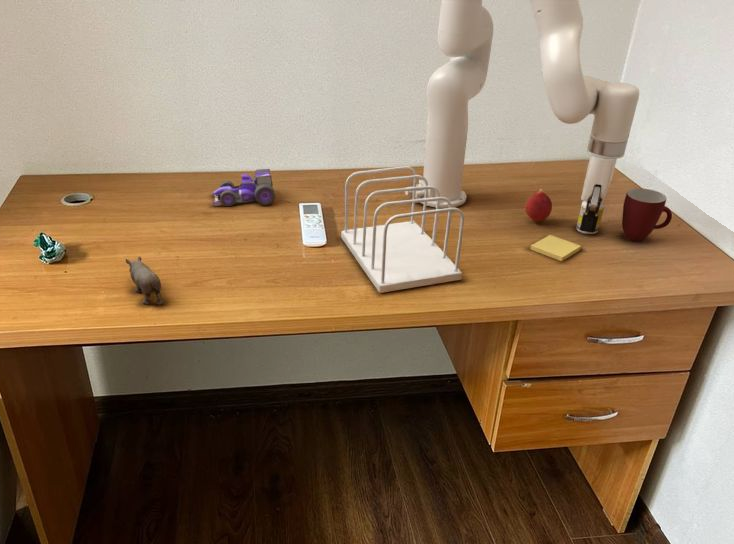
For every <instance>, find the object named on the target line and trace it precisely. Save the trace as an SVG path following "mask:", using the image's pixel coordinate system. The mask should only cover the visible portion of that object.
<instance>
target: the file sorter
mask: <svg viewBox="0 0 734 544" xmlns="http://www.w3.org/2000/svg"><path fill="white" fill-rule="evenodd" d="M405 170H407V171H410V172H412V174H413V175H404V176H393V177H385V178H384V177H383V178H374V179H367V180H364V181H362V182H360V184H358V186H357V188H356V190H355V194H354V195H355V197H354V217H353V228H352V229H349V184H350V181H351V180H352V179H353V178H354V177H357V176H360V175H361V176H362V175H370V174H378V173H379V174H380V173H385V172H386V173H387V172H394V171H405ZM404 180H413V186H412V187H411V186H409V187H410V188H406V187H401V188H400V187H399V188H390V189H389V188H388V189H379V190H375V191H373V192H371V193H370V194H368V196H367V197H366V199H365V202H364V207H363V208H364V209H363V224H362V225H363V226H362V227H358V213H359V212H358V210H359V209H358V207H359V195H360V191H361V189H362V188H363V187H365V185H366V186H367V185H368V184H376V183H385V182H394V181H404ZM418 180H424V182H425V186H421V187H416V185H417V181H418ZM344 184H345V186H344V193H345V194H344V230H341V231H340V238H341V240H342V241H343V243H344V244H345V245H346V247H347V248H348V250H349V251H350V253H351V254H352V256H353V257H354V258H355V260H356V262H357V263H358V264H359V265H360V267H361V268H362V270H363V271H364V274H366V276H367V277H368V279H369V280H370V282H371V283H372V284H373V285H374V287H375V289H376V291H377V292H378V293H379V294H383V293H389V292H395V291H400V290H405V289H412V288H419V287H424V286H430V285H435V284H442V283H449V282H454V281H455V282H456V281H460V280H462V276H463V275H462V274H463V272H462V271H461V269H459V264H460V258H461V257H460V256H461V249H462V241H463V233H464V228H465V227H464V225H465V214H464V212H463V211H462V210H461V209H459V208H458V207H452V204H451V202H450V201H449V200H448V199H447V198H445V197H440V193H439V191H438V189H437V188H435V187H433V186H428V182H427V180H426V178H424V177H423V175H420V174H417V172H416V170H415V169H414V168H413V167H411V166H408V165H407V166H406V165H403V166H396V167H395V166H394V167H387V168H386V167H385V168H377V169H368V170H361V171H354V172H353V173H351V174H350V175H348V177H347V178H346V181H345V183H344ZM428 189H432V190H434V191H435V192H436V193H437V197H434V198H427V195H428ZM416 190H425V196H424V199H416V198H415V196H416ZM404 191H413V194H412V198H411V199H405V200H404V199H403V200H396V201H387V202H383V203H381V204H380V205H379V206H377V208H376V209H375V211H374V214H373V220H372V221H373V223H372V226H367V223H368V221H367V220H368V207H369V202H370V201H371V199H372V198H373V197H375V196H377V195H382V194H383V195H384V194H391V193H402V192H404ZM404 193H405V192H404ZM440 200H443V201H446V202H447V203H448V205H449V208H439V205H440ZM429 201H437V203H436V207H435V209H429V210H427V202H429ZM420 202H424V204H423V206H422V210H421V211H415V206H416V204H417V203H420ZM409 204H411V212H407V213H400V214H399V213H398V214H395V215H392V216H391V217H390V218H388V219H387V221H386V222H385V223H384V224H379V225H377V218H378V214H379V212H380V211H381V210H382V209H383V208H386V207H389V206H398V205H409ZM453 212H456V213H459V215H460V216H459V217H460V223H459V231H458V232H459V233H458V240H457V247H456V254H455V255H456V256H455V263H454V261H452V260H451V258H449V257H448V256H447V250H448V244H449V243H448V242H449V235H450V228H451V221H452V214H453ZM440 213H447V219H446V220H447V221H446V227H445V228H446V229H445V236H444V242H443V250H442V248H440V246H438V244H437V243H436V236H437V235H436V234H437V227H438V219H439V214H440ZM432 214H434V219H433V220H434V222H433V227H432V236H431V237H430V236H429V235H428V234H427V233H426V232H425V225H426V224H425V223H426V215H432ZM417 216H421V225H419V224H418V223H417V222H416V221H415V217H417ZM403 218H410V221H402V222H401V221H400V222H394V223H392V222H393V221H395V220H397V219H403Z"/></svg>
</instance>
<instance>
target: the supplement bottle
mask: <svg viewBox="0 0 734 544" xmlns="http://www.w3.org/2000/svg"><path fill="white" fill-rule="evenodd" d="M590 200H591V201H592V198H590ZM587 201H588V200H587ZM587 201H585V200H584V201H581V202H582V203H581V206H580V210H579V214H578V218H577V222H576V230H577V231H578V232H579V233H581V234H585V235H594V234H598V232H599V229H600V226H601V221H602V217H603V214H604V208H605V204H604V203H602V204H600V208H599V212H598V215H599V216H598V220H597V224H596V228H595V232H594V233H592V232H585V231H580V226H581V221H582V217H583V213H585V210H586V205H587ZM598 202H599V199H598ZM590 205H591V203H589V206H590ZM597 205H598V204H597ZM596 207H597V206H596Z"/></svg>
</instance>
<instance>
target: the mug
mask: <svg viewBox="0 0 734 544" xmlns="http://www.w3.org/2000/svg"><path fill="white" fill-rule="evenodd" d="M666 203H667V196H666V195H665V194H664V193H662V192H660V191H658V190H654V189H650V188H632V189H628V191H627V192H626V194H625V196H624V201H623V206H622V217H621V228H622V232H623V236H624V238H625V239H626V240H628V241H630V242H634V243H639V242H640V243H641V242H643V241H645V239H647V238H648V237H649V236H650V235H651V234H652V232H653V231H654V230H660V229H664V228H665V227H667V226H668V225H669V224H670V223H671V221H672V219H673V213H672V210H671V209H670V208H669V207H667V206H666ZM663 213H665V215H666V218H665V220H663V222H662V223H660V224H657V223H658V222H659V220H660V218H661V216H662V214H663Z"/></svg>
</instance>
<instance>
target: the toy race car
mask: <svg viewBox="0 0 734 544" xmlns="http://www.w3.org/2000/svg"><path fill="white" fill-rule="evenodd" d="M240 176H241V183H240V184H238V185H235V184H234V183H233V182H232V181H230V180H223V181H222V182H221V183H220V184H219V187H218V188H217V189H216V190H214V191H212V196H213V197H214V201H213V202H212V205H213V207H221V206H222V205H223V206H225V207H232V206H234V205H236V204H237V205H238V204H247V203H253V202H257V203H258V204H259V205H261V206H270V205H271V204H272V203H274V201H275V200H276V192H275V189H274V187H273V184H274V183H273V180H272V179H273V177H272V175H271V169H270V168H261V169H256V170H255V171H254V177H251V176H250V175H249V174H241V175H240ZM219 197H220V199H219Z"/></svg>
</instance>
